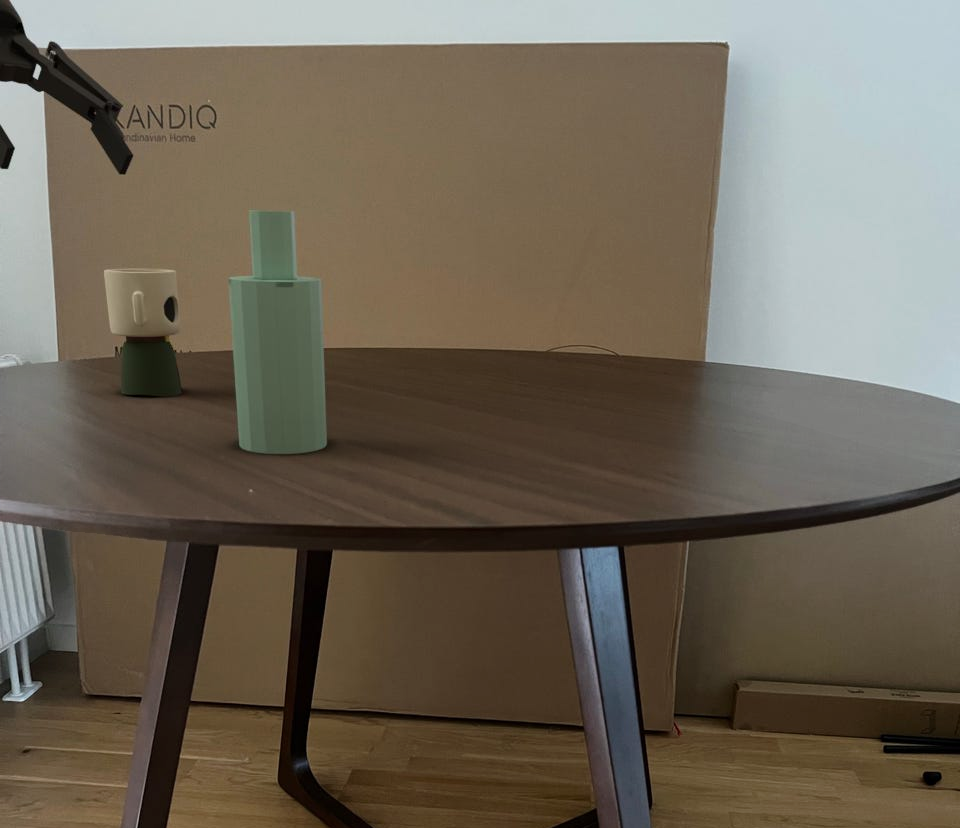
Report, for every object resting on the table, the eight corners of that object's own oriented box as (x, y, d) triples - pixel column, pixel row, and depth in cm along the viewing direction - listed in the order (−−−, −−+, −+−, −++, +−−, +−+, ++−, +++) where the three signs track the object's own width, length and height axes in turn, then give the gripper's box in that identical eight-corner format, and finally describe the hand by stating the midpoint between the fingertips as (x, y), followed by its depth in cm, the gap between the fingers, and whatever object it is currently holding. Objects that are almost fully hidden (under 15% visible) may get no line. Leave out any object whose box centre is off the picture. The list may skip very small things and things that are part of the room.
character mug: (184, 406, 106) (172, 273, 101) (111, 407, 105) (96, 272, 100) (189, 389, 116) (179, 267, 111) (123, 390, 115) (110, 266, 110)
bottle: (248, 463, 83) (232, 209, 76) (234, 445, 89) (217, 209, 82) (335, 458, 86) (328, 212, 78) (315, 441, 92) (306, 211, 85)
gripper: (69, 53, 122) (158, 192, 119) (-156, 22, 104) (-57, 185, 101) (88, -3, 117) (182, 141, 114) (-144, -46, 99) (-40, 124, 96)
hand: (70, 162), depth 108 cm, fingers open, 13 cm apart
